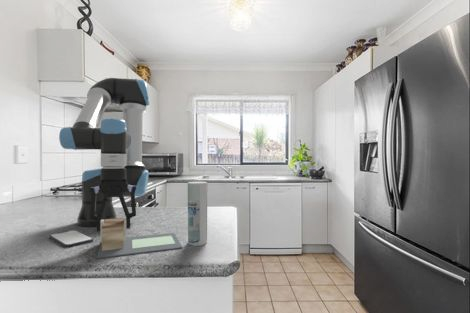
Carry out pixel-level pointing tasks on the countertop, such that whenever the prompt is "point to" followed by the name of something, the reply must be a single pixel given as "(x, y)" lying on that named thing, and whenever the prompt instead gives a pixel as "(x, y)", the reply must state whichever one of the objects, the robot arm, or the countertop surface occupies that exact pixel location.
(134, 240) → the mat
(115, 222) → the box
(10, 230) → the countertop surface
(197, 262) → the countertop surface
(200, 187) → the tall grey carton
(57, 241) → the phone case
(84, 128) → the robot arm
